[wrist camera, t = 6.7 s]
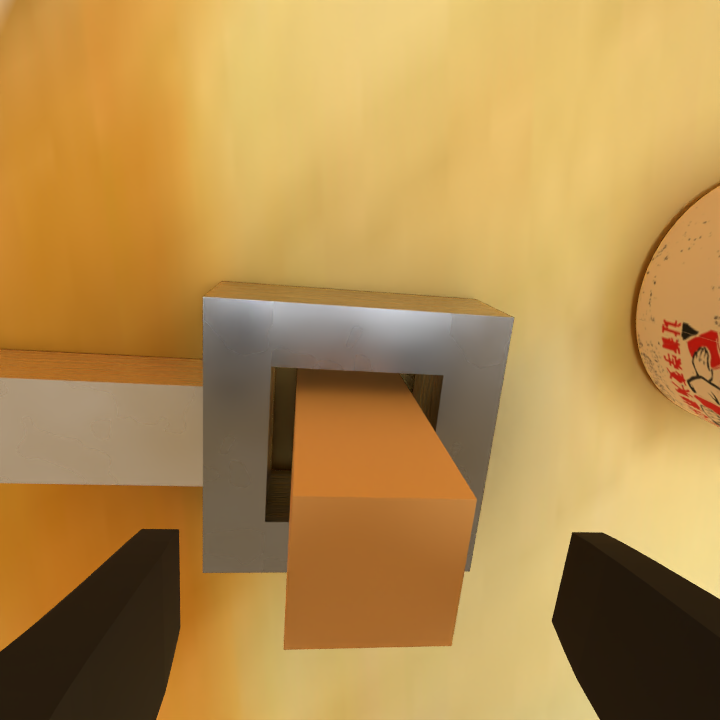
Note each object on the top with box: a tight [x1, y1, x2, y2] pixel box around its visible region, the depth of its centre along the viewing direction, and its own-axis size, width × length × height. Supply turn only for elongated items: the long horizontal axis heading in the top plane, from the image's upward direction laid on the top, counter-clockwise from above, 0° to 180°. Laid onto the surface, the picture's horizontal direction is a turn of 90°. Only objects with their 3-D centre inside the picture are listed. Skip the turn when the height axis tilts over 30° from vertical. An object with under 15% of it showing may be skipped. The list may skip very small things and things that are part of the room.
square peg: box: [284, 368, 477, 650], centre depth 13 cm, size 3×3×8 cm
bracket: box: [0, 281, 514, 573], centre depth 14 cm, size 15×8×3 cm, turn 85°
